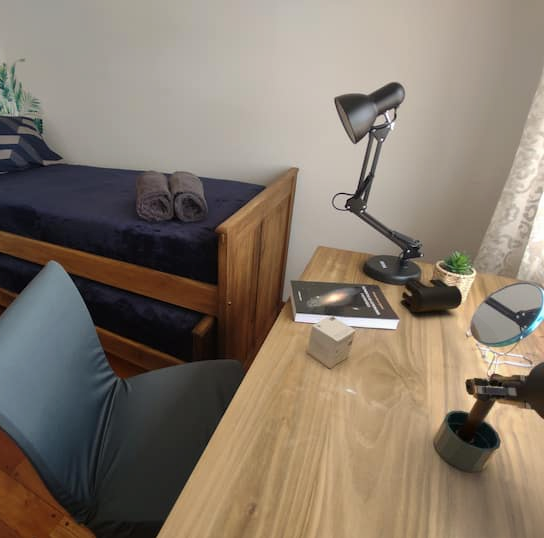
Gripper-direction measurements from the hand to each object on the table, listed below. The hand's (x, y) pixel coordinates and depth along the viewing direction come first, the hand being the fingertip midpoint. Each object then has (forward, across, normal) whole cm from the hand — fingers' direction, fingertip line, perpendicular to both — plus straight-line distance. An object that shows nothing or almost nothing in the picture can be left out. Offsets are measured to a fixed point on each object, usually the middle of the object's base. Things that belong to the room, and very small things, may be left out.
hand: (477, 387), depth 52 cm
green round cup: (+7, 0, +10) cm, 12 cm away
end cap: (+34, -14, -17) cm, 40 cm away
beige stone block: (+21, +15, -4) cm, 26 cm away
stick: (+6, 0, +8) cm, 10 cm away
